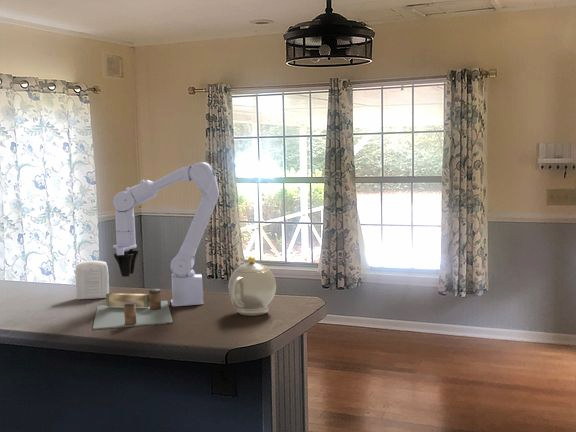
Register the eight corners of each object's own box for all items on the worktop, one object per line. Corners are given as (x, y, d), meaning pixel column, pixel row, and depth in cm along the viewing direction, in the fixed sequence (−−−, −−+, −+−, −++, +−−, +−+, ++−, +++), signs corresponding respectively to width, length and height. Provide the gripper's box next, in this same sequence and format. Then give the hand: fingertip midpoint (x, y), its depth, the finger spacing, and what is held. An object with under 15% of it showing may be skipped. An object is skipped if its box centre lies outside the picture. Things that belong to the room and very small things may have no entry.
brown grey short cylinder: (161, 308, 195) (160, 288, 195) (161, 310, 192) (160, 290, 191) (149, 309, 194) (148, 289, 194) (149, 311, 191) (148, 291, 190)
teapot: (247, 305, 197) (245, 251, 195) (286, 309, 190) (285, 253, 188) (212, 318, 181) (210, 260, 180) (253, 324, 174) (251, 263, 173)
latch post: (136, 323, 178) (135, 301, 178) (136, 326, 175) (135, 303, 175) (125, 324, 178) (123, 302, 177) (125, 327, 175) (123, 304, 174)
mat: (167, 301, 204) (167, 300, 204) (172, 323, 178) (172, 321, 178) (97, 307, 199) (97, 305, 199) (92, 329, 173) (92, 328, 173)
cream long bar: (149, 305, 194) (149, 293, 194) (147, 307, 192) (146, 295, 192) (109, 304, 197) (109, 293, 197) (106, 306, 195) (105, 294, 195)
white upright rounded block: (109, 295, 215) (108, 258, 214) (109, 298, 211) (107, 260, 210) (77, 297, 213) (75, 260, 212) (76, 300, 209) (74, 262, 207)
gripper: (119, 228, 206) (121, 270, 207) (105, 234, 191) (107, 279, 193) (141, 228, 206) (143, 270, 207) (129, 233, 191) (131, 279, 192)
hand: (127, 274), depth 200 cm, fingers open, 4 cm apart
